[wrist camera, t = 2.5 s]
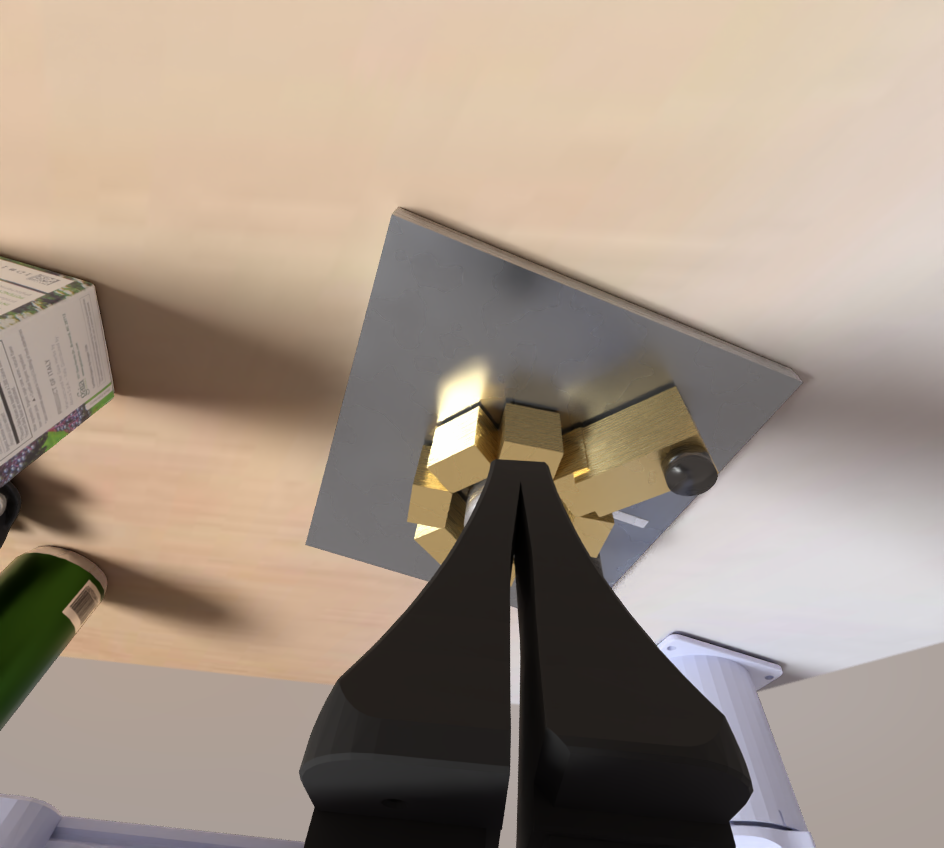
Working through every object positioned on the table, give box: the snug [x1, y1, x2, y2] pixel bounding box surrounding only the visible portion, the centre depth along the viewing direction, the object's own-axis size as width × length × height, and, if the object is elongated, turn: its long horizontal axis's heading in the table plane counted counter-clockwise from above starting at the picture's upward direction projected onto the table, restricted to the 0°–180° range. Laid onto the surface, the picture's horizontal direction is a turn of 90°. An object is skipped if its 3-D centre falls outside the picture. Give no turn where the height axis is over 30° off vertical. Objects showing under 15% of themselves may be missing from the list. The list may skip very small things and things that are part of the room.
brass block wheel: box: [407, 386, 719, 586], centre depth 20 cm, size 12×8×4 cm
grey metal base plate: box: [306, 207, 803, 608], centre depth 22 cm, size 18×16×4 cm
